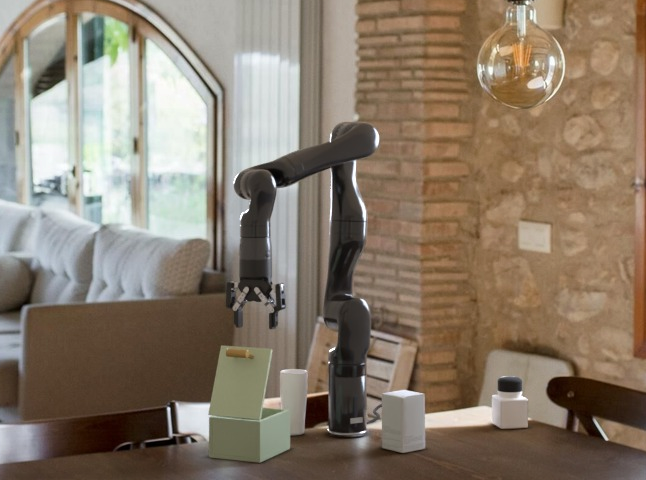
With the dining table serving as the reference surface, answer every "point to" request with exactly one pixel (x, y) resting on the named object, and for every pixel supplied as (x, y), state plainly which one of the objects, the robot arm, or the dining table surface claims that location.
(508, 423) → the medicine bottle
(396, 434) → the white packaging box
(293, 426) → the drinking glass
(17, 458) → the dining table surface
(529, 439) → the dining table surface
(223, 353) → the lid
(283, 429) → the chest
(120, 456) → the dining table surface
